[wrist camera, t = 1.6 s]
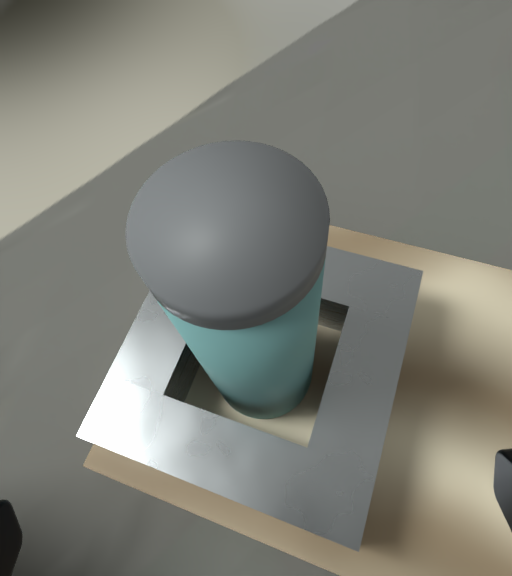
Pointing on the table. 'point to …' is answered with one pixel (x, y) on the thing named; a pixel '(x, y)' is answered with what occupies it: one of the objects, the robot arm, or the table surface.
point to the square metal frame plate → (257, 444)
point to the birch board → (395, 433)
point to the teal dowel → (237, 266)
